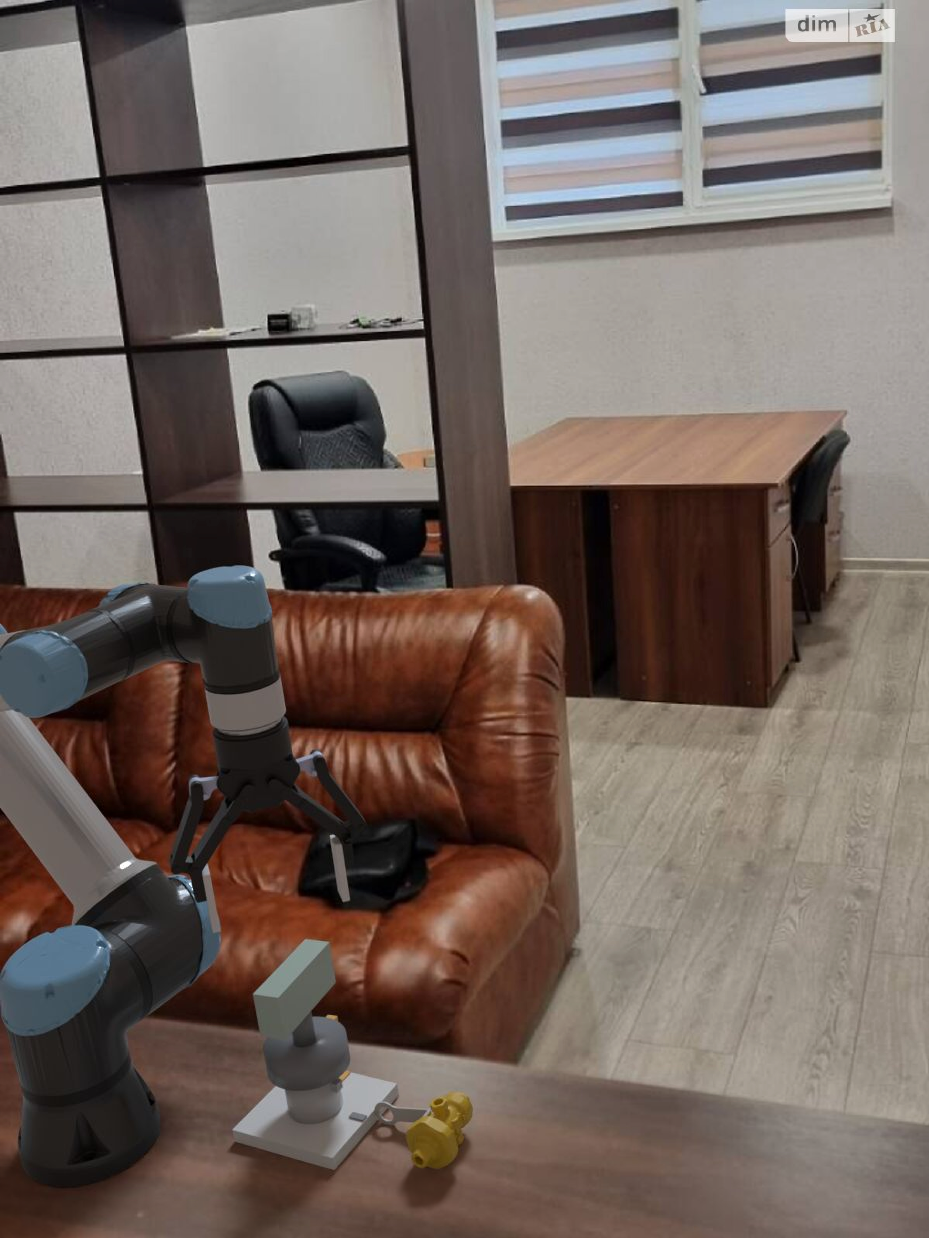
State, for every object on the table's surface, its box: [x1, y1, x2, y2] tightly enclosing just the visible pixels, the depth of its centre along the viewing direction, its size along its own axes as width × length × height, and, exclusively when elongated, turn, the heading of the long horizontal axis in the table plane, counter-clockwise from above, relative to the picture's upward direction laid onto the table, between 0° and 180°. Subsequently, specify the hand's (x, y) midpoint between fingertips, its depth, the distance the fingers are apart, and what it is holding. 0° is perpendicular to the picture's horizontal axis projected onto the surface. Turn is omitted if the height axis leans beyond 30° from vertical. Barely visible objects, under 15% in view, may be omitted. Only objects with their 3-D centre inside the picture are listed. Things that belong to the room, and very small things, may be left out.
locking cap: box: [252, 938, 351, 1091], centre depth 145 cm, size 12×9×12 cm
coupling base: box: [232, 1069, 400, 1171], centre depth 148 cm, size 13×13×6 cm
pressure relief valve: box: [374, 1091, 474, 1170], centre depth 142 cm, size 6×12×10 cm
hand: (280, 910), depth 142 cm, fingers open, 13 cm apart
